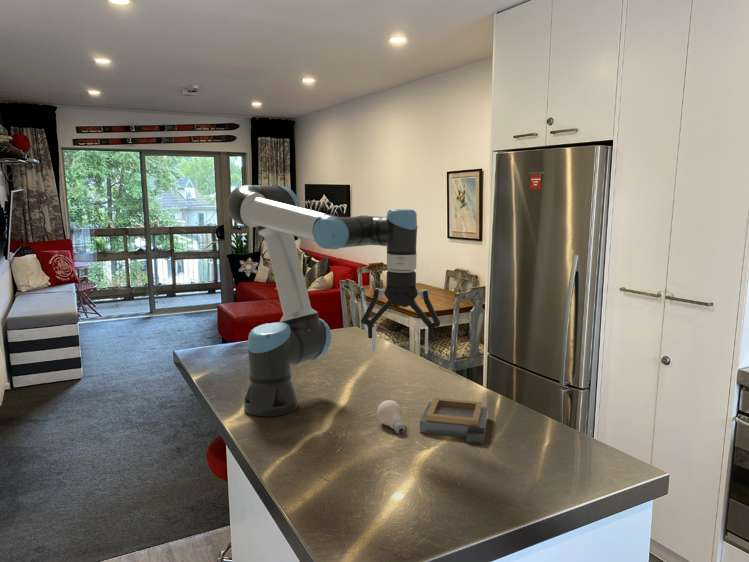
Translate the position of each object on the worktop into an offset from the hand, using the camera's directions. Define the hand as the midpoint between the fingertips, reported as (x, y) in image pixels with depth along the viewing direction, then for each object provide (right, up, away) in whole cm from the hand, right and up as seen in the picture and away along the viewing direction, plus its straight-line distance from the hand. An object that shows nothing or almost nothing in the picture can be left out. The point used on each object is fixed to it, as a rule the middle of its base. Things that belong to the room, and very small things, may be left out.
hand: (400, 351), depth 144 cm
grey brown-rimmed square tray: (+14, -19, +1) cm, 24 cm away
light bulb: (-2, -20, 0) cm, 20 cm away
